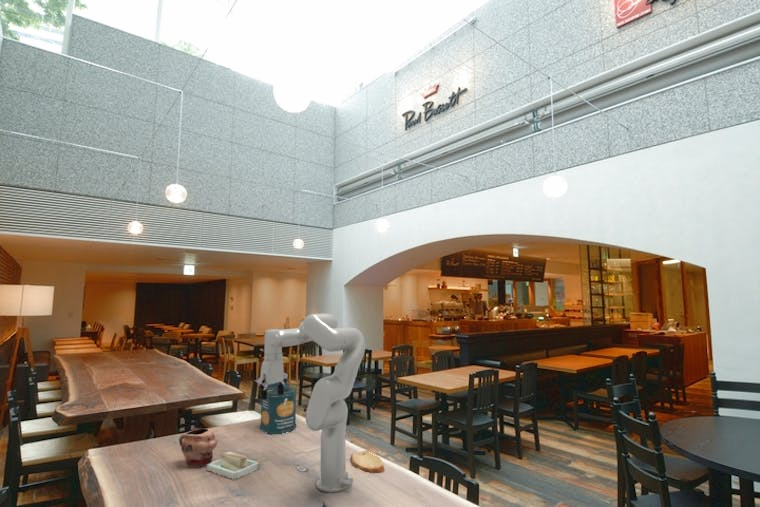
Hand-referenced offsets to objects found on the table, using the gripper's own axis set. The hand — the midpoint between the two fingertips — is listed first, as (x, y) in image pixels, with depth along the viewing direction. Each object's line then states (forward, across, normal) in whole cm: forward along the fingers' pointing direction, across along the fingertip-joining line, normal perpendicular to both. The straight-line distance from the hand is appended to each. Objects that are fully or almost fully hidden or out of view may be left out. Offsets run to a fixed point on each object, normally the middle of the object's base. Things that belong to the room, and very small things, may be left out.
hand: (272, 396), depth 173 cm
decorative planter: (+28, +16, -30) cm, 44 cm away
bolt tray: (+28, +12, -10) cm, 32 cm away
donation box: (+29, -36, -33) cm, 57 cm away
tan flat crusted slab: (+29, -22, +36) cm, 51 cm away
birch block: (+28, +12, -10) cm, 32 cm away
